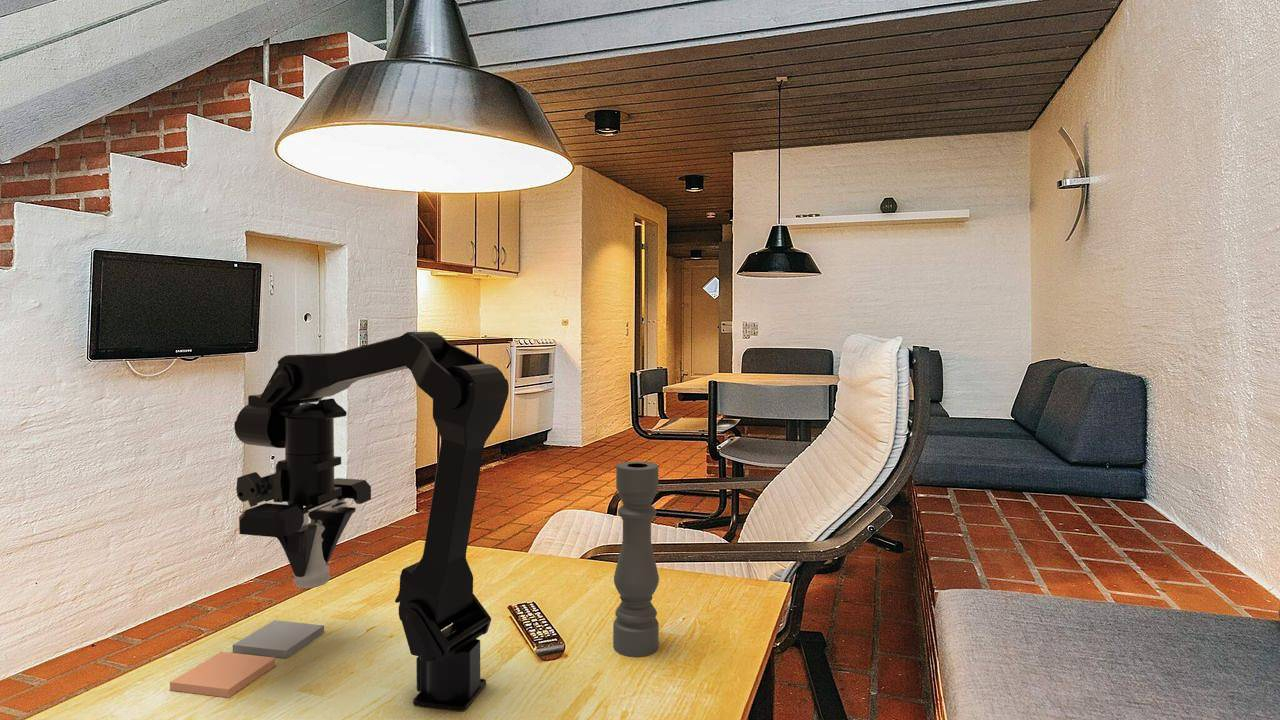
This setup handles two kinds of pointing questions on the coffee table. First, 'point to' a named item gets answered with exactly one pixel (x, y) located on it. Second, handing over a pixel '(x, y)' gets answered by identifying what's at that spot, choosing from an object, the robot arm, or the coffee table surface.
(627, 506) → the candle holder
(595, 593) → the coffee table surface
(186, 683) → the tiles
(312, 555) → the rook chess piece
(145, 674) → the coffee table surface
